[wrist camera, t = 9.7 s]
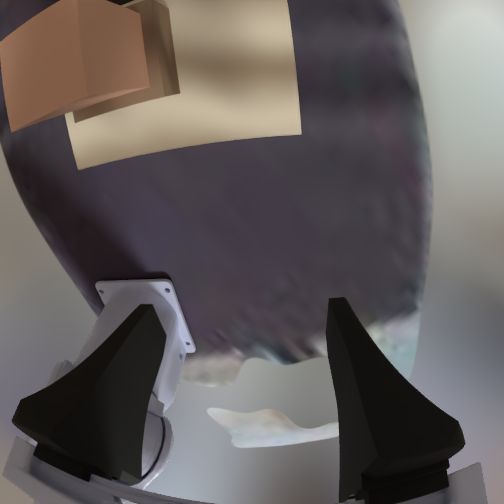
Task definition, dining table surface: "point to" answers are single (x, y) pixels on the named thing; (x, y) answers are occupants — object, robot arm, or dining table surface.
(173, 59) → the base block
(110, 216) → the dining table surface
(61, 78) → the top block
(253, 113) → the board
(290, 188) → the dining table surface
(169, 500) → the robot arm
